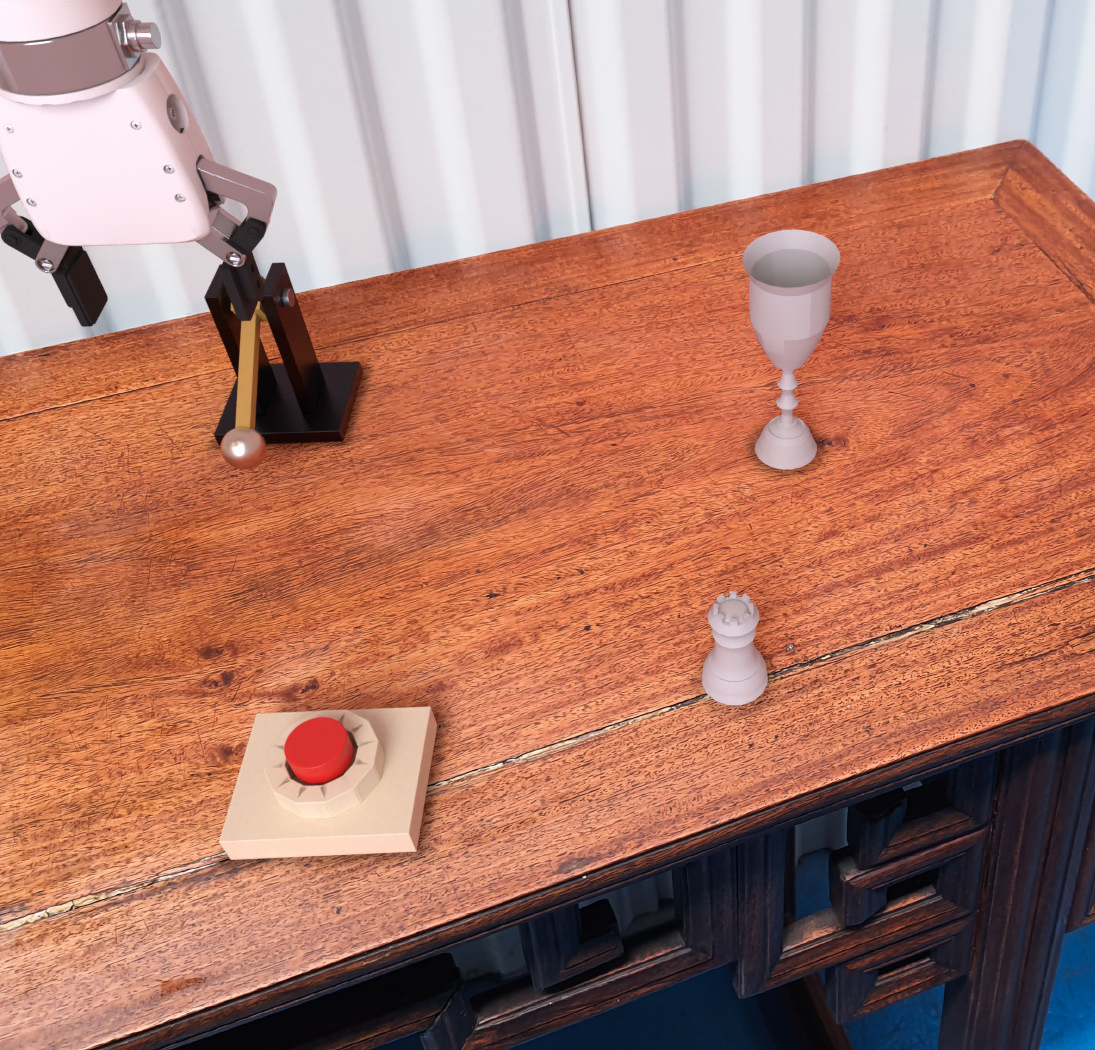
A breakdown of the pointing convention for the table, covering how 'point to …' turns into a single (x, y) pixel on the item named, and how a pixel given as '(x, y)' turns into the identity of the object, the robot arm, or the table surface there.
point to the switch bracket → (286, 370)
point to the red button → (318, 750)
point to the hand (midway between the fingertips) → (173, 311)
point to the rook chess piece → (734, 652)
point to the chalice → (789, 327)
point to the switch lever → (246, 400)
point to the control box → (333, 788)
